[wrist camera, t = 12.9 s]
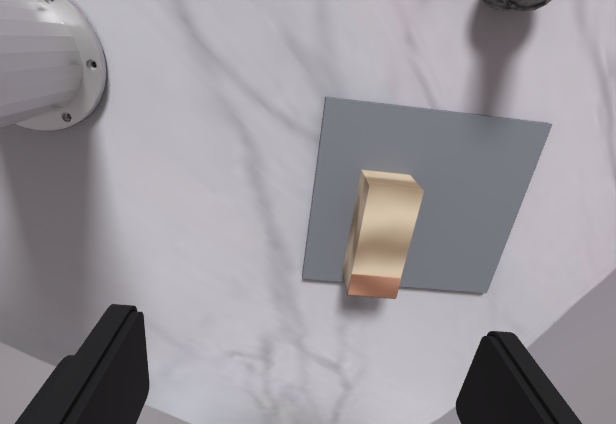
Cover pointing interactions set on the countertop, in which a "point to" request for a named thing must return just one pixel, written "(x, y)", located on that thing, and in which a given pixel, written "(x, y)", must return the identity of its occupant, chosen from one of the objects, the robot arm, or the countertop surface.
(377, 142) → the slate mat
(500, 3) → the grey chess piece
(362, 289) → the beige brown block
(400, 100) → the countertop surface
